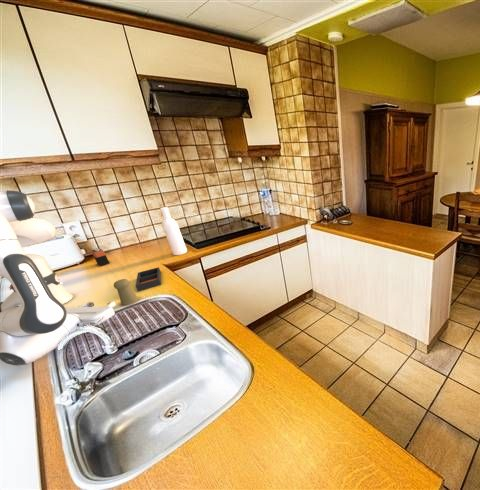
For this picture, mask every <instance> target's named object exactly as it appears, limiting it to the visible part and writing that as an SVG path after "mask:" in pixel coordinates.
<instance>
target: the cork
mask: <svg viewBox="0 0 480 490" xmlns="http://www.w3.org/2000/svg"><path fill="white" fill-rule="evenodd" d="M130 283H131V282H130V281H129V280H128V279H127V278H122V279H118V280H116V281H115V282H113V287H114V289H116V290H117V293H118V298H119V301H120V304H121V306H125V307H126V306H130V305H133V304H135V303H137V302H138V301H139V297H138V296H137V294H136V293H135V292H134V290H133V289H132V287H131V286H130Z"/></svg>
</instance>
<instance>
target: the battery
mask: <svg viewBox="0 0 480 490" xmlns="http://www.w3.org/2000/svg"><path fill="white" fill-rule="evenodd" d="M90 253H91V254H92V256H93V258H94V260H95V262H96V264H97V265H99V266H100V267H103V266H106V265H108V264H110V261H109V259H108V256H107V255H106V253H105V251H104V249H102V248H99V247H94V248H93V249H91V250H90Z"/></svg>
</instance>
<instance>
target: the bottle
mask: <svg viewBox="0 0 480 490" xmlns="http://www.w3.org/2000/svg"><path fill="white" fill-rule="evenodd" d="M159 208H160V212H161V215H162V217H163V220H162V222H161V227H162V230H163V232H164V234H165V237H166V240H167V242H168V245H169V248H170V250H171V251H170V252H171V253H172V255H173V256H180V255H183V254H186V253H187V252H188V248H187V246H186V244H185V240H184V237H183V235H182V233H181V230H180V227H179V223H178V222H177V221H176V220H175V219H174V218H172V216H171V214H170V210H169V208H168V206H164V207H159Z"/></svg>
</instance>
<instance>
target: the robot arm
mask: <svg viewBox="0 0 480 490" xmlns="http://www.w3.org/2000/svg"><path fill="white" fill-rule="evenodd" d="M35 212H36V205H35V202H34V201H33V200H32V198H31V197H29V196H28V194H26V193H24V192H23V191H19V190H18V191H17V190H11V189H10V190H5V191H4V190H0V276H1V277H3V278H5V279H6V280H7V281H9V283H10V285H9V287H8V289H9V290H10V291H12V292H11V293H10V294H9V295H8V296H7V297H6V299H4V300H3V301H0V361H1V362H3V363H5V364H7V365H12V366H27V365H29V364H31V363H33V362H36V361H37V360H39V359H41V358H42V357H44V356H46V355H47V354H49V353H51V352H52V351H54V350H55V349H57V347H58V346H59V345H58V343H59V342H60V341H61V340H62V339H63V338H64V337H65V336H67V335H68V334H69V333H71V332H73V331H75V330H76V329H78V328H80V327H83V328H84V327H88V326H87V325H92V327H93V326H97V325H100V324H102V323H104V322H105V321H107V320H109V319H110V318H112V317H114V316H115V314H116V312H115V310H114V307H116V305H117V303H116V302H115V301H109V302H107V303H106V305H104V306H95V303H94V302H93V301H89V302H86V303H84V304H81V305H78V306H70V307H69V306H68V307H65V306H64V305H65V304H67V303H68V302H69V301H71V300H72V299H73V298H74V295H73V294H72V293H70V292H69V291H68V290H67V289H66V288H65V286H64V285H63V282H62V281H61V280H60V278H59V276H58V274H57V273H56V272H55V271H54V270H52V267H51V266H50V264H49V262H48V261H47V259H46V258H45V257H44V256H42V255H39V254H34V253H26V252H25V251H24V249H23V248H26V247H31V246H36V245H39V244H42V243H44V242H47V241H50V240H53V239H54V238H55V237H56V234H57V229H56V227H55V225H54V224H53V223H52V222H51V221H49V220H47V219H44V218H41V217H34V216H35ZM57 345H58V346H57Z"/></svg>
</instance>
